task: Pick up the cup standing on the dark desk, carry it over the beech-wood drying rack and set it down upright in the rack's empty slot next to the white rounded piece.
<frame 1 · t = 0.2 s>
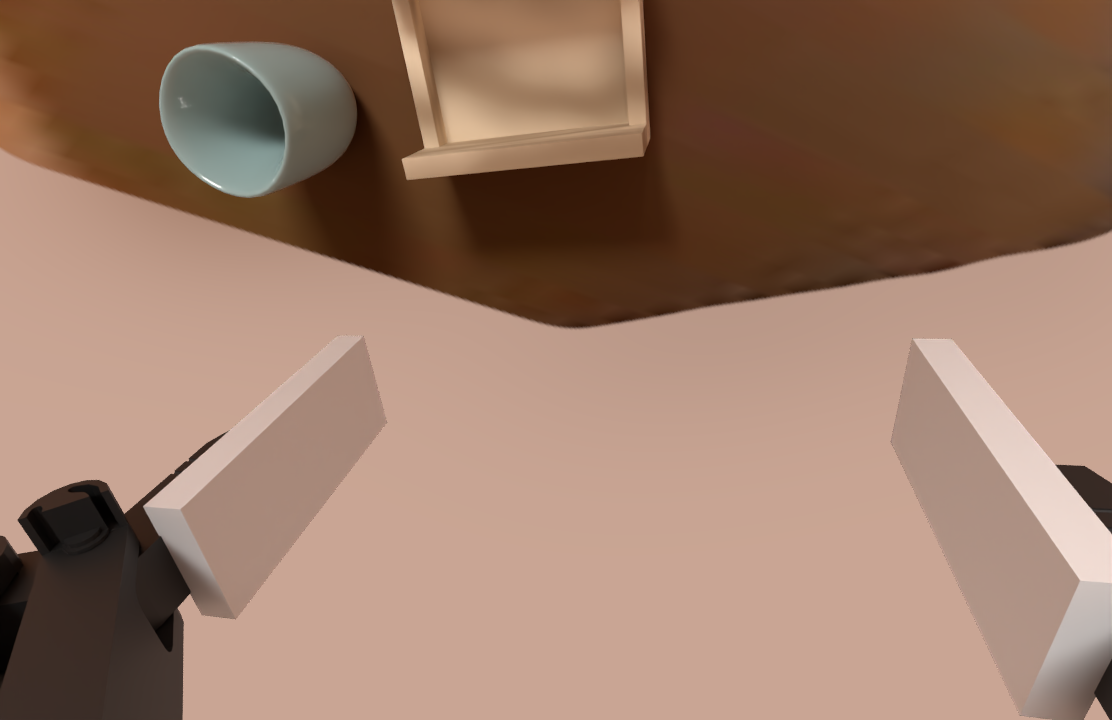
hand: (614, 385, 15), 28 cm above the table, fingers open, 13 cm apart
cup: (322, 104, 41), on the table
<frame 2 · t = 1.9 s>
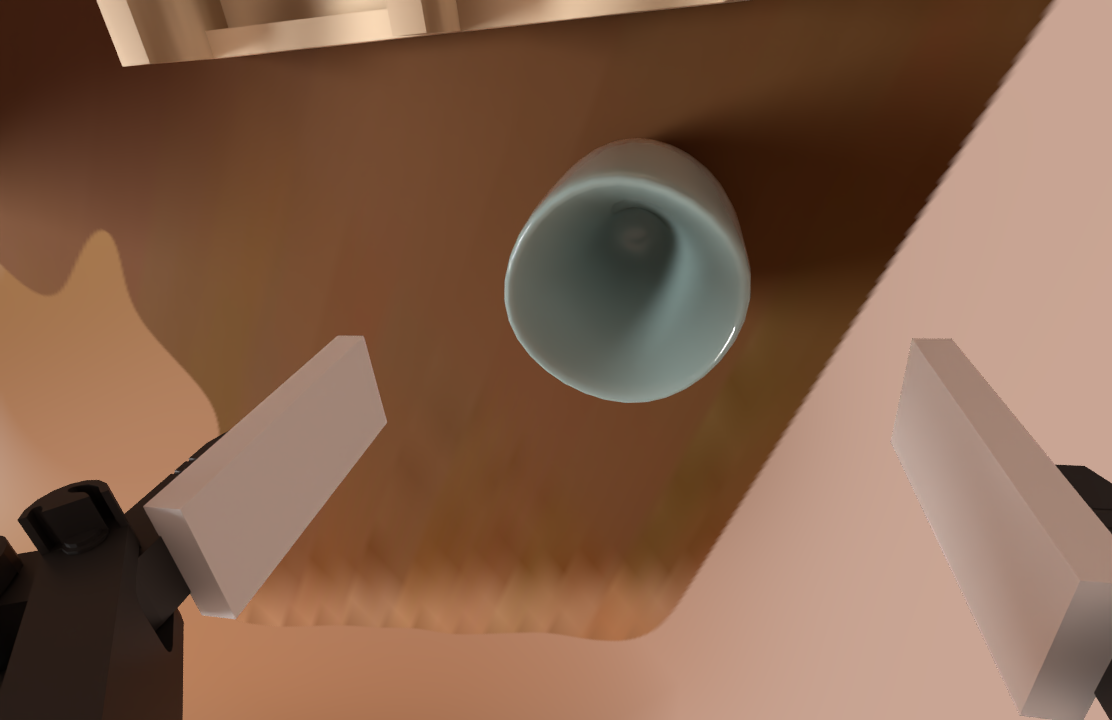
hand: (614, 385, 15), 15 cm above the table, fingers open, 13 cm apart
cup: (641, 212, 28), on the table
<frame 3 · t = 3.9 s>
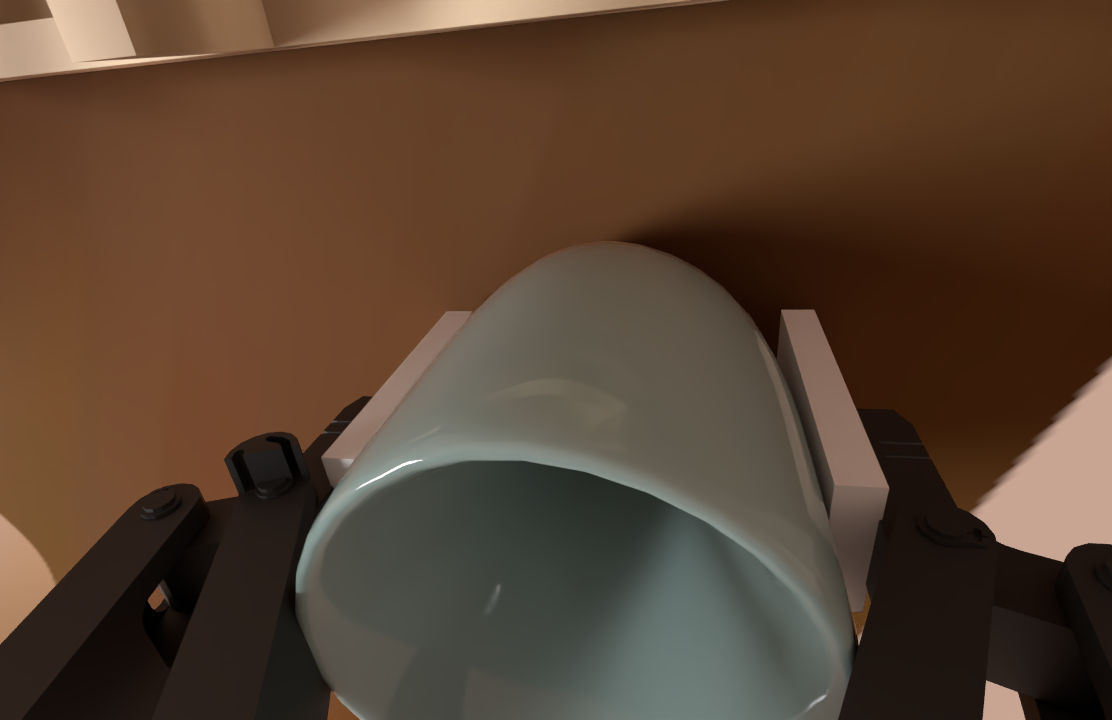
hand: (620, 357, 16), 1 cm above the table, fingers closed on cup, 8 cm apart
cup: (623, 340, 17), on the table, touching gripper
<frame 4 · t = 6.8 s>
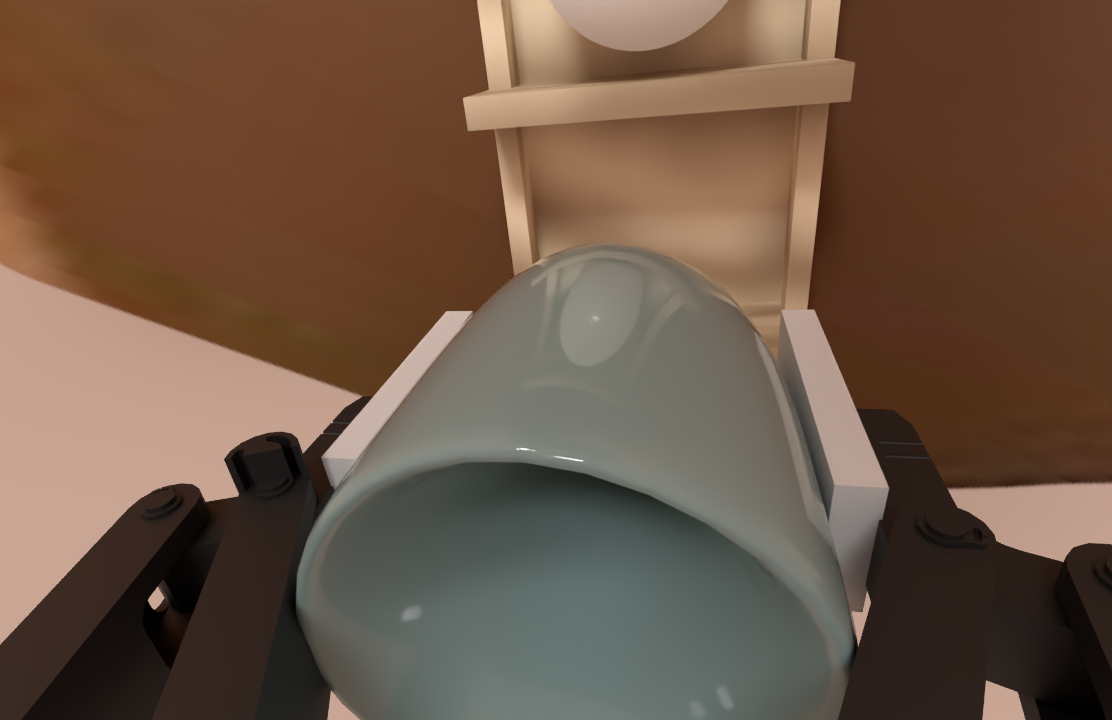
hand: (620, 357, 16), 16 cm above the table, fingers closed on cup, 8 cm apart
cup: (623, 341, 17), point 15 cm above the table, touching gripper
rack: (655, 85, 27), on the table
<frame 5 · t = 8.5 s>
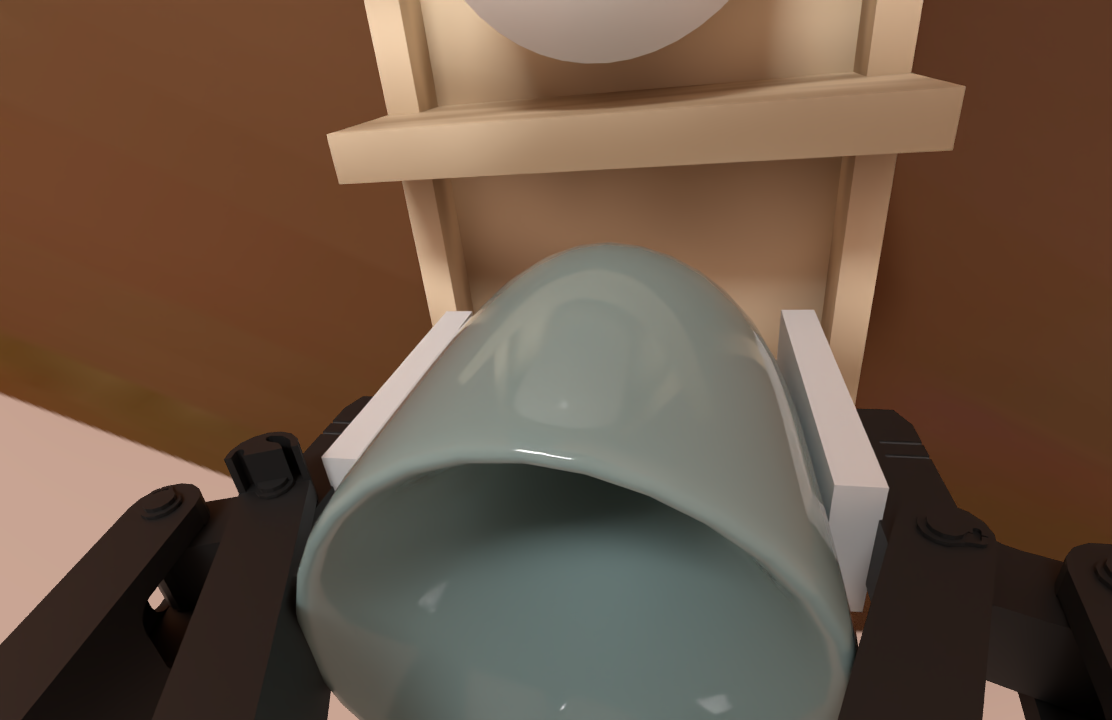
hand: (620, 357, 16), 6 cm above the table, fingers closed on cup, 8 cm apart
cup: (624, 341, 17), point 5 cm above the table, touching gripper
rack: (634, 107, 19), on the table
when the fingers open (5 cm above the table, at t = 9.7 s): cup drops 3 cm, resting on rack.
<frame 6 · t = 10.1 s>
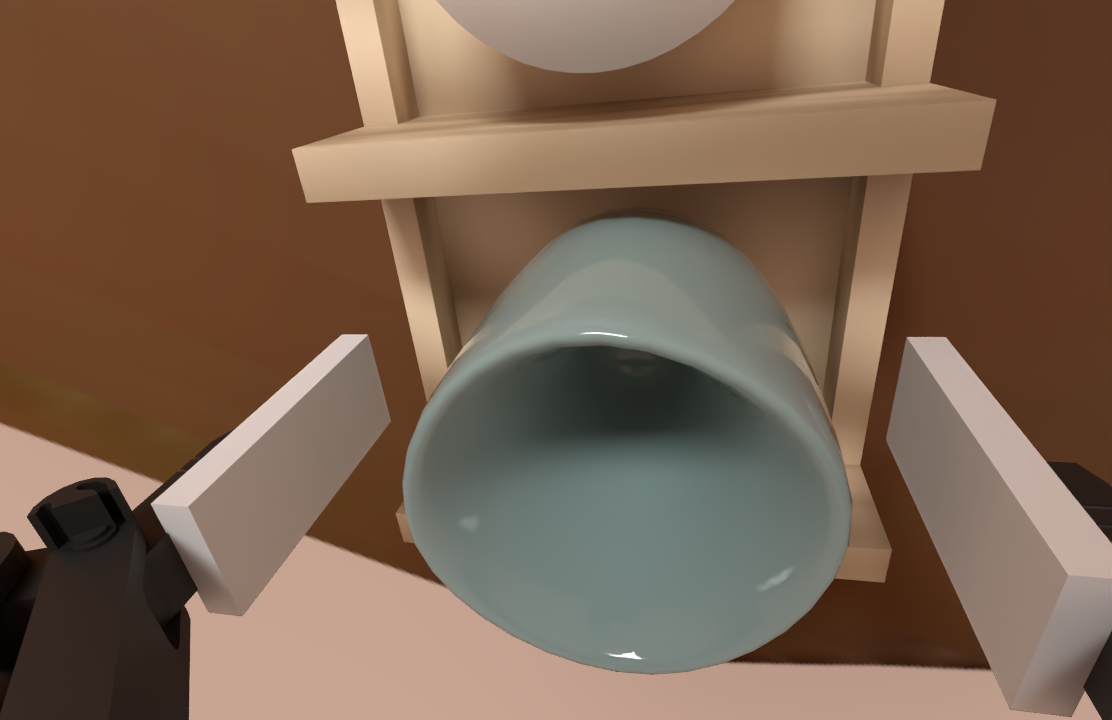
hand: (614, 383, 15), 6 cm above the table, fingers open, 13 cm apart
cup: (644, 301, 19), point 1 cm above the table, touching rack
rack: (629, 118, 18), on the table
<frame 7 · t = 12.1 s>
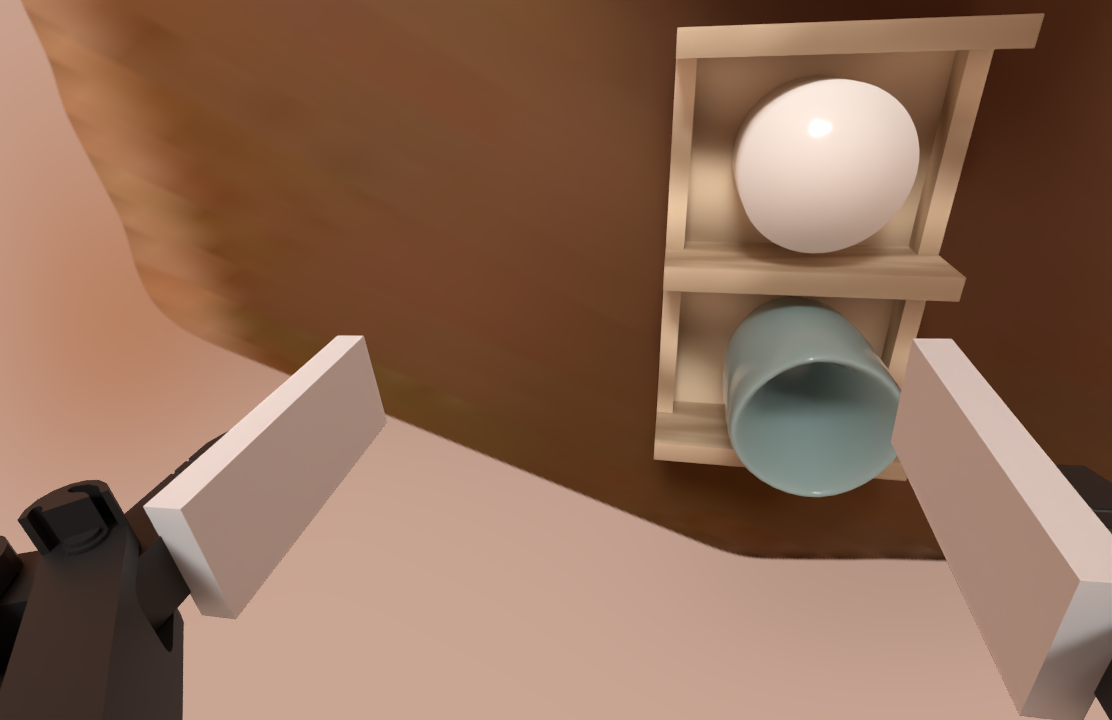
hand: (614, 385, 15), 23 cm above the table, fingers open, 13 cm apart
cup: (784, 338, 37), point 1 cm above the table, touching rack
white rounded piece: (806, 154, 32), point 1 cm above the table, touching rack
rack: (787, 247, 35), on the table
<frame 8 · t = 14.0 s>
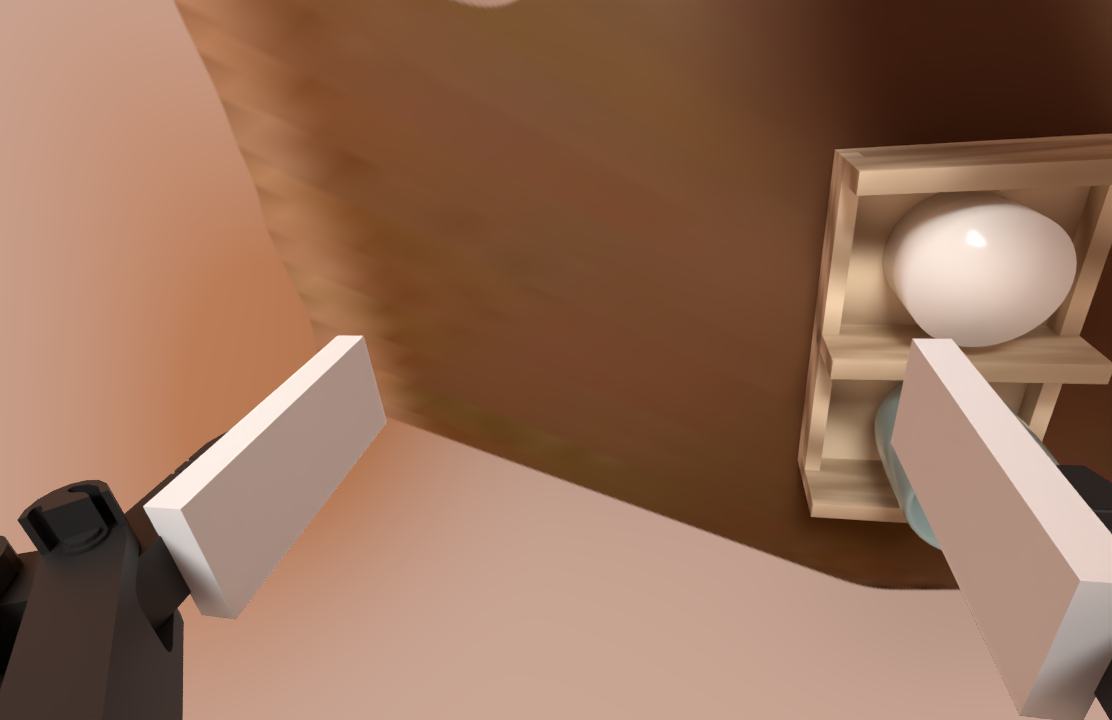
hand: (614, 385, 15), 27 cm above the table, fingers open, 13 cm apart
cup: (924, 403, 41), point 1 cm above the table, touching rack
white rounded piece: (953, 251, 36), point 1 cm above the table, touching rack
rack: (928, 325, 39), on the table
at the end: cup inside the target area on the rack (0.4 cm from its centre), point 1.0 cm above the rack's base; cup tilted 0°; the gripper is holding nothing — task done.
